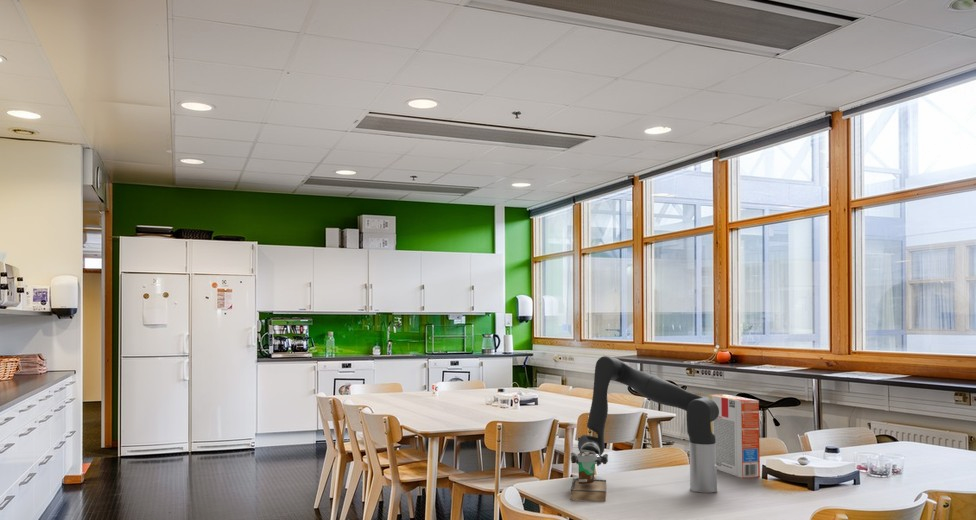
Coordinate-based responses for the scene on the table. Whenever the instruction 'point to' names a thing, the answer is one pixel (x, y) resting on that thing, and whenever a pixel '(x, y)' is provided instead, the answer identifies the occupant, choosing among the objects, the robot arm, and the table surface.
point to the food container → (586, 466)
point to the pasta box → (737, 435)
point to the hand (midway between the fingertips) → (588, 462)
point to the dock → (589, 490)
